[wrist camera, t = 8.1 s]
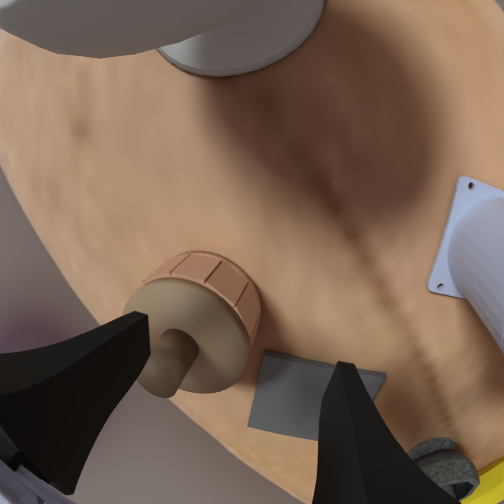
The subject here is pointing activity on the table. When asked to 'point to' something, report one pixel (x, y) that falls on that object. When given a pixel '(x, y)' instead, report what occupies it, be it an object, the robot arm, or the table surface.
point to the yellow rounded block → (489, 485)
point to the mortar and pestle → (446, 467)
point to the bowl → (217, 283)
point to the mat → (296, 394)
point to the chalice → (168, 29)
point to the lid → (189, 338)
